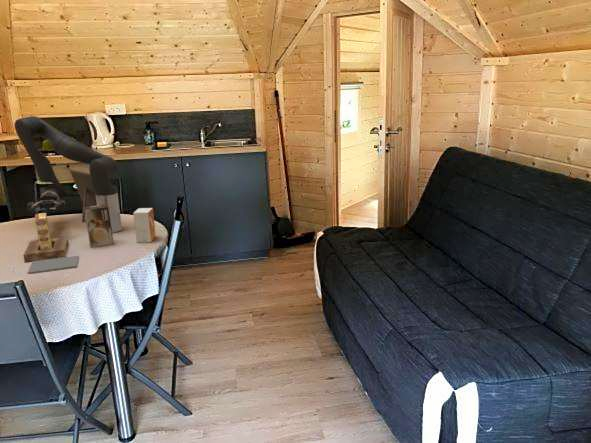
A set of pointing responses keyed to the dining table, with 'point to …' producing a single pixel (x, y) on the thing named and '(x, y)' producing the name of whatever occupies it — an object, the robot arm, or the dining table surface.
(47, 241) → the candy box
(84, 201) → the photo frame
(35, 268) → the slate mat
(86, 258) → the dining table surface
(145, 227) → the small box
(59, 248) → the pocket board
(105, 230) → the coffee box
